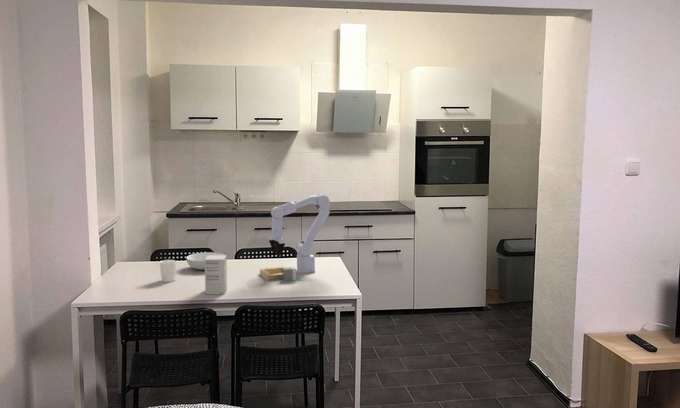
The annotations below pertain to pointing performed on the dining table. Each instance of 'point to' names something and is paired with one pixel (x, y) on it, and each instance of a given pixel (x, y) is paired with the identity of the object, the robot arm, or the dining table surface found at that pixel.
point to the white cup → (168, 270)
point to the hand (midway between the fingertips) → (276, 254)
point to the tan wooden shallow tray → (271, 272)
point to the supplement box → (215, 274)
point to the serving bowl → (199, 260)
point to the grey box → (289, 274)
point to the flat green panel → (287, 281)
